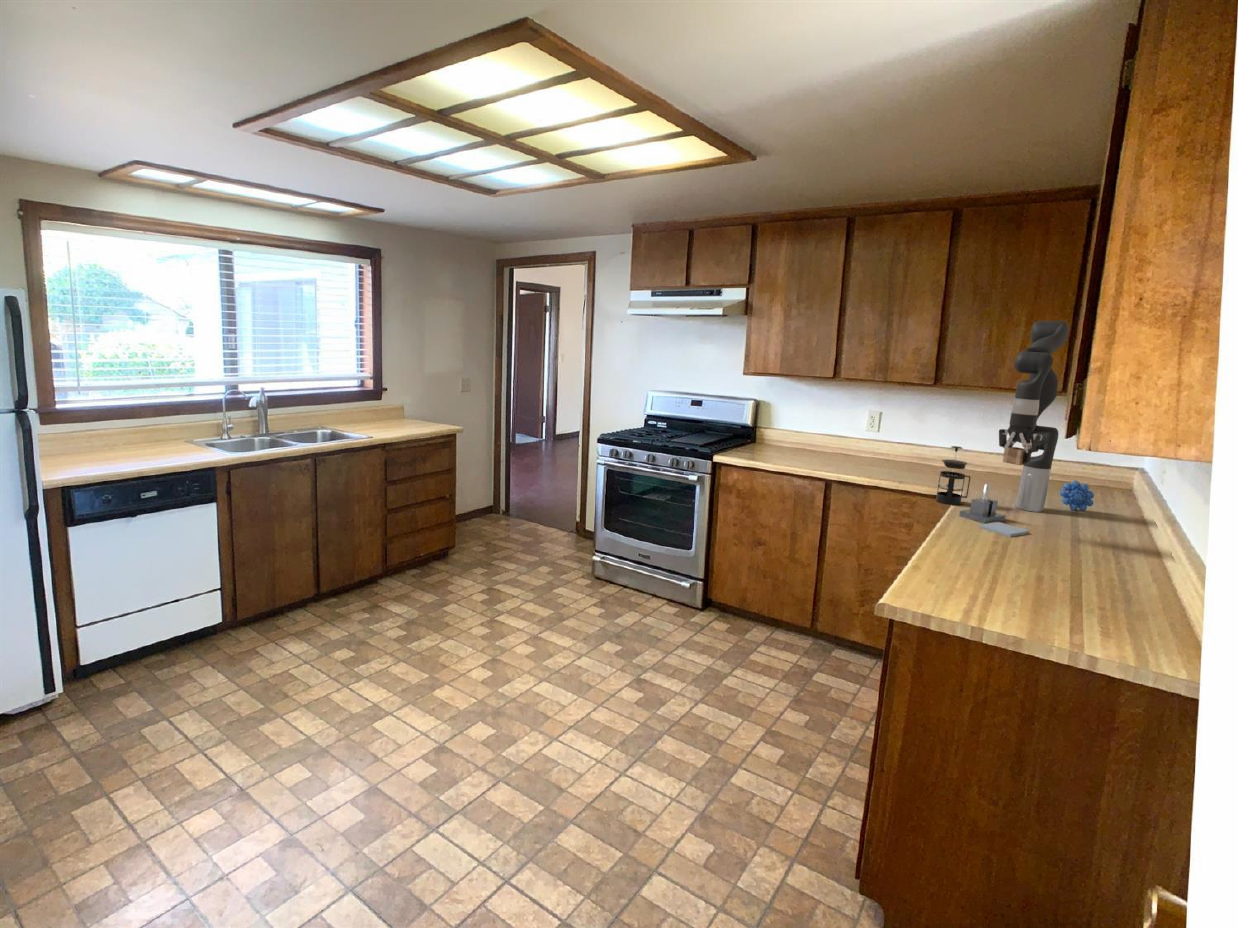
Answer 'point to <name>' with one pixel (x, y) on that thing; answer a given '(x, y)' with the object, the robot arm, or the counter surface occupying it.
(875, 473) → the counter surface
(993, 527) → the mat
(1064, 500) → the grapes
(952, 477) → the french press
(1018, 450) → the collar
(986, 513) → the grey block-shaped fixture
